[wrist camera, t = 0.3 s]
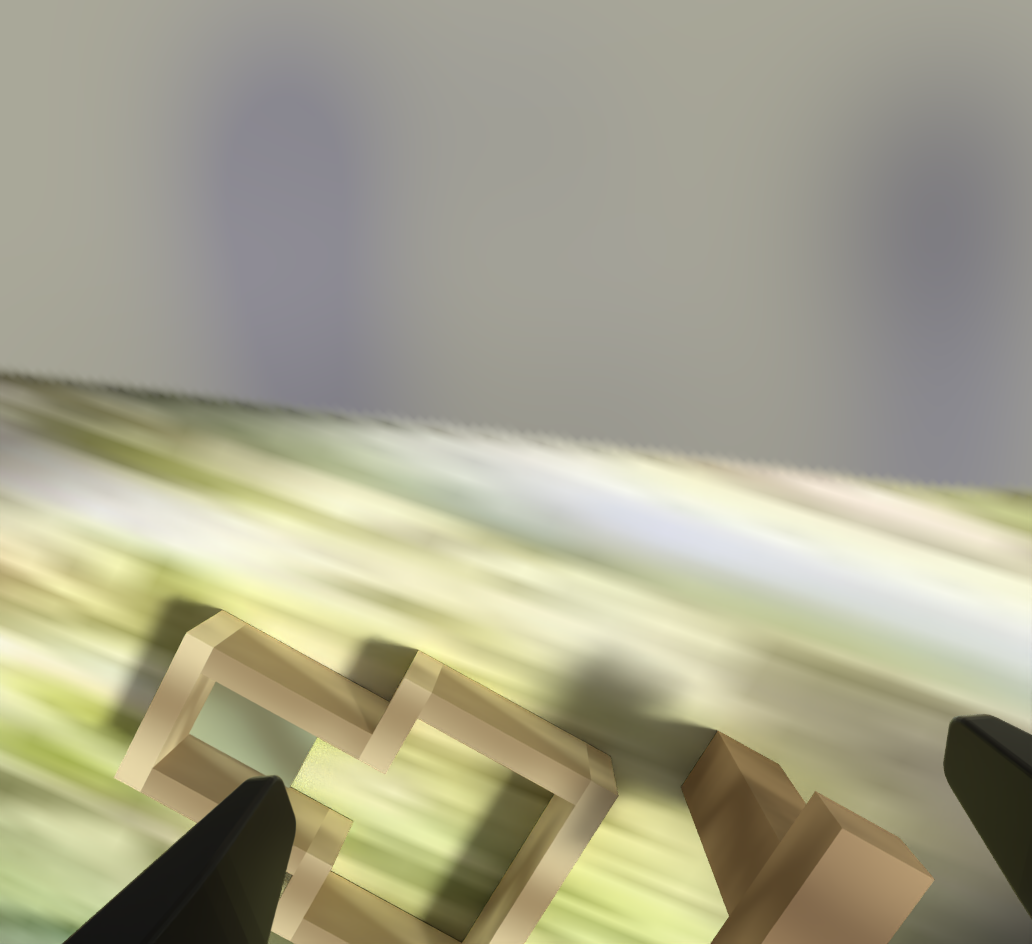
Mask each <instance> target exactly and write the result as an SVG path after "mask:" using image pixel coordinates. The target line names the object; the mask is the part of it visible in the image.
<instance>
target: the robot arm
mask: <svg viewBox="0 0 1032 944" xmlns="http://www.w3.org/2000/svg"><path fill="white" fill-rule="evenodd" d="M943 766H944V773H945V776H946V779H947V781H948V783H949V785H950V787H951V789H952V791H953V792H954V794H955V795H956V797H957V799H958V800H959V802H960V804H961V805H962V807H963V809H964V810H965V812H966V813H967V815H968V817H969V818H970V820H971V822H972V823H973V825H974V827H975V828H976V830H977V831H978V833H979V835H980V836H981V838H982V840H983V841H984V843H985V845H986V846H987V848H988V849H989V851H990V853H991V854H992V856H993V858H994V859H995V861H996V863H997V864H998V866H999V867H1000V869H1001V871H1002V872H1003V874H1004V876H1005V877H1006V879H1007V881H1008V882H1009V884H1010V885H1011V887H1012V889H1013V890H1014V892H1015V894H1016V895H1017V897H1018V898H1019V900H1020V902H1021V903H1022V905H1023V906H1024V908H1025V909H1026V911H1027V912H1028V914H1029V916H1030V917H1031V919H1032V735H1031V734H1029V733H1027V732H1025V731H1023V730H1021V729H1019V728H1017V727H1015V726H1013V725H1011V724H1009V723H1007V722H1005V721H1003V720H1001V719H999V718H996V717H994V716H991V715H987V714H977V715H965V716H957V717H954V718H953V719H952V720H951V722H950V724H949V729H948V735H947V742H946V748H945V755H944V761H943ZM295 834H296V818H295V814H294V811H293V808H292V805H291V802H290V799H289V796H288V793H287V791H286V788H285V785H284V782H283V780H282V779H281V778H280V777H279V776H278V775H267V776H255V777H251V778H249V779H247V780H245V781H244V782H243V783H242V784H241V785H239V786H238V787H237V788H236V789H235V790H234V791H233V792H232V793H230V794H229V795H228V796H227V797H226V798H225V799H224V800H223V801H221V802H220V803H219V804H218V805H217V806H216V807H215V808H214V809H212V810H211V811H210V812H209V813H208V814H207V815H206V816H205V817H204V818H202V819H201V820H200V821H199V822H198V823H197V824H196V825H195V826H193V827H192V828H191V829H190V830H189V831H188V832H187V833H186V834H184V835H183V836H182V837H181V838H180V839H179V840H178V841H177V842H175V843H174V844H173V845H172V846H171V847H170V848H169V849H168V850H166V851H165V852H164V853H163V854H162V855H161V856H160V857H159V858H158V859H156V860H155V861H154V862H153V863H152V864H151V865H150V866H149V867H147V868H146V869H145V870H144V871H143V872H142V873H141V874H140V875H138V876H137V877H136V878H135V879H134V880H133V881H132V882H131V883H129V884H128V885H127V886H126V887H125V888H124V889H123V890H122V891H121V892H119V893H118V894H117V895H116V896H115V897H114V898H113V899H112V900H110V901H109V902H108V903H107V904H106V905H105V906H104V907H103V908H101V909H100V910H99V911H98V912H97V913H96V914H95V915H94V916H92V917H91V918H90V919H89V920H88V921H87V922H86V923H85V924H84V925H82V926H81V927H80V928H79V929H78V930H77V931H76V932H75V933H73V934H72V935H71V936H70V937H69V938H68V939H67V940H66V941H64V942H63V943H62V944H268V940H269V937H270V933H271V929H272V925H273V921H274V917H275V913H276V909H277V905H278V901H279V898H280V894H281V890H282V886H283V882H284V878H285V874H286V870H287V866H288V862H289V859H290V855H291V851H292V847H293V843H294V839H295Z"/></svg>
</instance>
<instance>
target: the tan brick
mask: <svg viewBox="0 0 1032 944" xmlns="http://www.w3.org/2000/svg"><path fill="white" fill-rule="evenodd" d="M681 789H682V792H683V794H684V797H685V800H686V802H687V805H688V808H689V810H690V813H691V816H692V818H693V821H694V824H695V826H696V829H697V832H698V834H699V837H700V840H701V842H702V845H703V848H704V850H705V853H706V856H707V858H708V861H709V864H710V866H711V869H712V872H713V874H714V877H715V880H716V882H717V885H718V888H719V890H720V893H721V896H722V898H723V901H724V904H725V906H726V909H727V912H728V914H729V918H728V919H727V920H726V922H725V923H724V925H723V926H722V928H721V929H720V931H719V932H718V933H717V935H716V936H715V938H714V939H713V941H712V942H711V944H888V942H889V941H890V939H891V938H892V937H893V935H894V934H895V933H896V931H897V930H898V929H899V927H900V926H901V925H902V923H903V922H904V920H905V919H906V918H907V916H908V915H909V914H910V912H911V911H912V910H913V908H914V907H915V906H916V904H917V903H918V902H919V900H920V899H921V897H922V896H923V895H924V893H925V892H926V891H927V889H928V888H929V887H930V885H931V884H932V883H933V881H934V880H935V879H934V878H933V877H932V876H931V874H930V873H929V872H928V871H927V870H926V869H925V867H924V866H923V865H922V864H921V863H920V861H919V860H918V859H917V858H916V857H915V856H914V854H913V853H912V852H911V851H910V850H909V848H908V847H907V846H906V845H905V844H904V843H903V841H902V840H901V839H900V838H899V837H897V836H895V835H893V834H892V833H890V832H888V831H886V830H884V829H883V828H881V827H879V826H877V825H875V824H874V823H872V822H870V821H868V820H866V819H865V818H863V817H861V816H859V815H857V814H856V813H854V812H852V811H850V810H848V809H847V808H845V807H843V806H841V805H839V804H838V803H836V802H834V801H832V800H830V799H829V798H827V797H825V796H823V795H821V794H820V793H818V792H816V791H815V793H814V794H813V795H812V797H811V798H810V800H809V801H808V803H807V804H806V803H805V802H804V800H803V799H802V797H801V796H800V794H799V793H798V791H797V790H796V788H795V787H794V786H793V784H792V783H791V781H790V780H789V778H788V777H787V775H786V774H785V772H784V771H783V769H782V768H781V766H780V765H779V764H777V763H775V762H773V761H772V760H770V759H768V758H766V757H764V756H763V755H761V754H759V753H757V752H755V751H754V750H752V749H750V748H748V747H746V746H745V745H743V744H741V743H739V742H737V741H736V740H734V739H732V738H730V737H728V736H727V735H725V734H723V733H721V732H719V731H717V733H716V734H715V736H714V737H713V739H712V740H711V742H710V743H709V745H708V747H707V748H706V750H705V751H704V753H703V754H702V756H701V757H700V759H699V760H698V762H697V763H696V765H695V766H694V768H693V770H692V771H691V773H690V774H689V776H688V777H687V779H686V780H685V782H684V783H683V785H682V786H681Z"/></svg>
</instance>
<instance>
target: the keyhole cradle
mask: <svg viewBox="0 0 1032 944" xmlns="http://www.w3.org/2000/svg"><path fill="white" fill-rule="evenodd" d="M417 718H418V719H420V720H421V721H423V722H425V723H427V724H429V725H430V726H432V727H434V728H436V729H438V730H439V731H441V732H443V733H445V734H447V735H449V736H450V737H452V738H454V739H456V740H458V741H459V742H461V743H463V744H465V745H467V746H469V747H470V748H472V749H474V750H476V751H478V752H479V753H481V754H483V755H485V756H487V757H489V758H490V759H492V760H494V761H496V762H498V763H499V764H501V765H503V766H505V767H507V768H508V769H510V770H512V771H514V772H516V773H518V774H519V775H521V776H523V777H525V778H527V779H528V780H530V781H532V782H534V783H536V784H538V785H539V786H541V787H543V788H545V789H547V790H548V791H550V792H552V793H554V795H553V797H552V799H551V800H550V802H549V804H548V805H547V807H546V808H545V810H544V812H543V813H542V815H541V816H540V818H539V820H538V821H537V823H536V825H535V826H534V828H533V829H532V831H531V833H530V834H529V836H528V837H527V839H526V841H525V842H524V844H523V846H522V847H521V849H520V850H519V852H518V854H517V855H516V857H515V858H514V860H513V862H512V863H511V865H510V867H509V868H508V870H507V871H506V873H505V875H504V876H503V878H502V879H501V881H500V883H499V884H498V886H497V888H496V889H495V891H494V892H493V894H492V896H491V897H490V899H489V900H488V902H487V904H486V905H485V907H484V909H483V910H482V912H481V913H480V915H479V917H478V918H477V920H476V921H475V923H474V925H473V926H472V928H471V929H470V931H469V933H468V934H467V936H466V938H465V939H464V941H463V942H462V943H461V942H459V941H457V940H456V939H454V938H452V937H450V936H448V935H446V934H445V933H443V932H441V931H439V930H437V929H435V928H434V927H432V926H430V925H428V924H426V923H424V922H423V921H421V920H419V919H417V918H415V917H413V916H412V915H410V914H408V913H406V912H404V911H402V910H401V909H399V908H397V907H395V906H393V905H391V904H390V903H388V902H386V901H384V900H382V899H380V898H379V897H377V896H375V895H373V894H371V893H369V892H368V891H366V890H364V889H362V888H360V887H358V886H357V885H355V884H353V883H351V882H349V881H347V880H346V879H344V878H342V877H340V876H338V875H336V874H335V873H333V872H331V871H330V870H331V869H332V867H333V865H334V862H335V860H336V858H337V856H338V854H339V852H340V849H341V847H342V845H343V843H344V841H345V839H346V836H347V834H348V832H349V830H350V828H351V826H352V823H353V821H351V820H350V819H348V818H346V817H344V816H342V815H340V814H339V813H337V812H335V811H333V810H331V809H329V808H328V807H326V806H324V805H322V804H320V803H318V802H317V801H315V800H313V799H311V798H309V797H308V796H306V795H304V794H302V793H300V792H298V791H297V790H295V789H293V788H291V787H290V786H291V785H292V783H293V781H294V779H295V777H296V775H297V774H298V772H299V770H300V768H301V766H302V764H303V763H304V761H305V759H306V757H307V755H308V754H309V752H310V750H311V748H312V746H313V744H314V743H315V741H316V739H317V737H318V738H320V739H322V740H323V741H325V742H327V743H329V744H331V745H332V746H334V747H336V748H338V749H340V750H342V751H343V752H345V753H347V754H349V755H351V756H352V757H354V758H356V759H358V760H360V761H362V762H363V763H365V764H367V765H369V766H371V767H373V768H374V769H376V770H378V771H380V772H382V773H383V774H386V772H387V770H388V769H389V767H390V765H391V763H392V762H393V760H394V758H395V756H396V755H397V753H398V751H399V749H400V748H401V746H402V744H403V742H404V741H405V739H406V737H407V735H408V734H409V732H410V730H411V728H412V727H413V725H414V723H415V721H416V720H417ZM267 775H278V776H279V777H280V778H281V779H282V780H283V782H284V785H285V788H286V791H287V793H288V796H289V799H290V802H291V805H292V808H293V811H294V814H295V818H296V834H295V839H294V843H293V847H292V851H291V855H290V859H289V862H288V866H287V870H286V872H288V873H290V874H291V875H292V877H291V878H290V880H289V882H288V884H287V886H286V888H285V890H284V891H283V893H282V895H281V897H280V899H279V901H278V905H277V909H276V913H275V917H274V921H273V925H272V929H271V931H273V932H274V933H276V934H278V935H280V936H282V937H284V938H286V939H287V940H289V941H291V942H293V943H295V944H524V943H525V942H526V940H527V939H528V937H529V935H530V934H531V932H532V931H533V929H534V928H535V926H536V924H537V923H538V921H539V920H540V918H541V917H542V915H543V913H544V912H545V910H546V909H547V907H548V906H549V904H550V902H551V901H552V899H553V898H554V896H555V895H556V893H557V891H558V890H559V888H560V887H561V885H562V884H563V882H564V880H565V879H566V877H567V876H568V874H569V873H570V871H571V869H572V868H573V866H574V865H575V863H576V862H577V860H578V858H579V857H580V855H581V854H582V852H583V851H584V849H585V847H586V846H587V844H588V843H589V841H590V840H591V838H592V836H593V835H594V833H595V832H596V830H597V829H598V827H599V825H600V824H601V822H602V821H603V819H604V818H605V816H606V814H607V813H608V811H609V810H610V808H611V807H612V805H613V803H614V802H615V800H616V799H617V797H618V791H617V786H616V781H615V776H614V771H613V766H612V761H611V756H609V755H607V754H605V753H603V752H602V751H600V750H598V749H596V748H594V747H593V746H591V745H589V744H587V743H585V742H584V741H582V740H580V739H578V738H576V737H575V736H573V735H571V734H569V733H567V732H565V731H564V730H562V729H560V728H558V727H556V726H555V725H553V724H551V723H549V722H547V721H546V720H544V719H542V718H540V717H538V716H537V715H535V714H533V713H531V712H529V711H527V710H526V709H524V708H522V707H520V706H518V705H517V704H515V703H513V702H511V701H509V700H508V699H506V698H504V697H502V696H500V695H499V694H497V693H495V692H493V691H491V690H489V689H488V688H486V687H484V686H482V685H480V684H479V683H477V682H475V681H473V680H471V679H470V678H468V677H466V676H464V675H462V674H461V673H459V672H457V671H455V670H453V669H451V668H450V667H448V666H446V665H444V664H442V663H441V662H439V661H437V660H435V659H433V658H432V657H430V656H428V655H426V654H424V653H423V652H421V651H419V650H418V652H417V654H416V656H415V657H414V659H413V661H412V663H411V665H410V666H409V668H408V670H407V672H406V673H405V675H404V677H403V679H402V681H401V682H400V684H399V686H398V688H397V690H396V691H395V693H394V695H393V697H392V698H391V700H390V702H389V701H387V700H385V699H383V698H381V697H379V696H378V695H376V694H374V693H372V692H370V691H369V690H367V689H365V688H363V687H361V686H359V685H358V684H356V683H354V682H352V681H350V680H349V679H347V678H345V677H343V676H341V675H339V674H338V673H336V672H334V671H332V670H330V669H329V668H327V667H325V666H323V665H321V664H320V663H318V662H316V661H314V660H312V659H310V658H309V657H307V656H305V655H303V654H301V653H300V652H298V651H296V650H294V649H292V648H290V647H289V646H287V645H285V644H283V643H281V642H280V641H278V640H276V639H274V638H272V637H271V636H269V635H267V634H265V633H263V632H261V631H260V630H258V629H256V628H254V627H252V626H251V625H249V624H247V623H245V622H243V621H241V620H240V619H238V618H236V617H234V616H232V615H231V614H229V613H227V612H225V611H223V610H222V611H220V612H219V613H217V614H215V615H214V616H212V617H211V618H209V619H207V620H206V621H204V622H202V623H201V624H199V625H198V626H196V627H194V628H193V629H191V630H190V631H188V632H186V634H185V636H184V638H183V640H182V642H181V644H180V646H179V648H178V650H177V652H176V654H175V656H174V658H173V660H172V662H171V664H170V666H169V668H168V670H167V672H166V674H165V676H164V678H163V680H162V682H161V684H160V686H159V688H158V690H157V692H156V694H155V696H154V698H153V700H152V702H151V704H150V706H149V708H148V710H147V712H146V714H145V716H144V718H143V720H142V722H141V724H140V726H139V728H138V730H137V732H136V734H135V736H134V738H133V740H132V742H131V744H130V746H129V748H128V750H127V752H126V754H125V756H124V758H123V760H122V762H121V764H120V766H119V768H118V770H117V772H116V774H115V776H114V778H115V779H117V780H119V781H121V782H123V783H124V784H126V785H128V786H130V787H132V788H134V789H135V790H137V791H139V792H141V793H143V794H145V795H146V796H148V797H150V798H152V799H154V800H156V801H158V802H159V803H161V804H163V805H165V806H167V807H169V808H170V809H172V810H174V811H176V812H178V813H180V814H181V815H183V816H185V817H187V818H189V819H191V820H192V821H194V822H196V823H198V822H199V821H200V820H201V819H202V818H204V817H205V816H206V815H207V814H208V813H209V812H210V811H211V810H212V809H214V808H215V807H216V806H217V805H218V804H219V803H220V802H221V801H223V800H224V799H225V798H226V797H227V796H228V795H229V794H230V793H232V792H233V791H234V790H235V789H236V788H237V787H238V786H239V785H241V784H242V783H243V782H244V781H245V780H247V779H249V778H251V777H255V776H267Z"/></svg>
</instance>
